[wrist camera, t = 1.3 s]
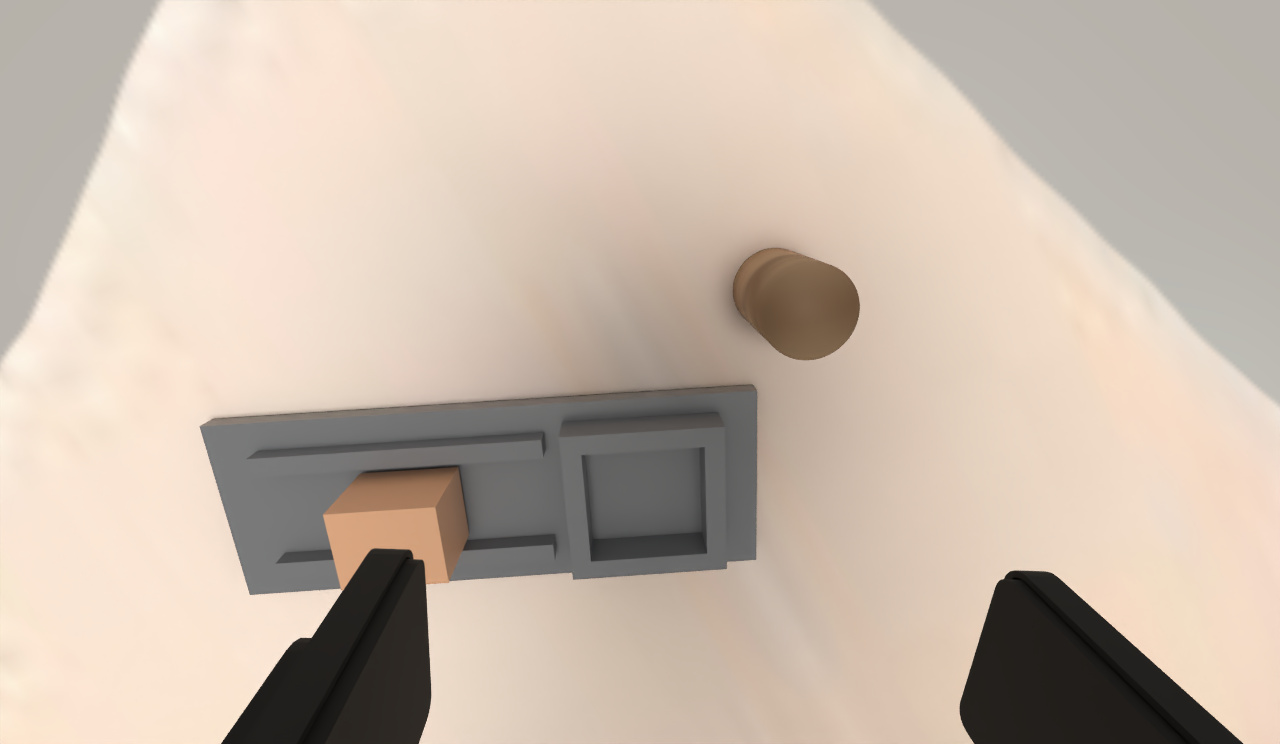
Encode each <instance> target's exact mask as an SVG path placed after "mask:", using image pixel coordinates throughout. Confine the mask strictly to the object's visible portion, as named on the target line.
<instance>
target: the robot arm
mask: <svg viewBox="0 0 1280 744" xmlns="http://www.w3.org/2000/svg"><path fill="white" fill-rule="evenodd" d="M430 703H431V677H430V657H429V638H428V618H427V598H426V579H425V564H424V561H423V560H420V559H414V558H413V553H412V551H411V550H409V549H382V548H374V549H371V550H370V551H369V553H368V554H367V555H366V557H365V558H364V560H363V561H362V563H361V564H360V566H359V567H358V569H357V570H356V572H355V573H354V575H353V576H352V578H351V579H350V581H349V582H348V584H347V585H346V587H345V588H344V590H343V591H342V593H341V594H340V596H339V597H338V599H337V600H336V602H335V604H334V605H333V607H332V608H331V610H330V611H329V613H328V614H327V616H326V617H325V619H324V620H323V622H322V623H321V625H320V626H319V628H318V629H317V631H316V632H315V634H314V635H313V637H312V638H300V639H298V640H296V641H295V642H293V643H292V645H291V646H290V647H289V648H288V649H287V650H286V652H285V653H284V654H283V656H282V657H281V659H280V660H279V662H278V663H277V664H276V666H275V667H274V669H273V670H272V672H271V673H270V674H269V676H268V677H267V679H266V680H265V682H264V683H263V684H262V686H261V687H260V689H259V690H258V692H257V693H256V694H255V696H254V697H253V699H252V700H251V702H250V703H249V705H248V706H247V707H246V709H245V710H244V712H243V713H242V715H241V716H240V717H239V719H238V720H237V722H236V723H235V725H234V726H233V727H232V729H231V730H230V732H229V733H228V735H227V736H226V737H225V739H224V740H223V742H222V743H221V744H419V741H420V738H421V735H422V733H423V730H424V727H425V724H426V721H427V718H428V714H429V709H430ZM960 716H961V720H962V723H963V726H964V728H965V730H966V731H967V733H968V735H969V736H970V738H971V739H972V741H973V742H974V744H1243V743H1242V742H1241V741H1240V740H1239V739H1238V738H1236V737H1235V736H1234V735H1233V734H1232V733H1231V732H1230V731H1229V730H1228V729H1226V728H1225V727H1224V726H1223V725H1222V724H1221V723H1220V722H1219V721H1218V720H1216V719H1215V718H1214V717H1213V716H1212V715H1211V714H1210V713H1209V712H1208V711H1206V710H1205V709H1204V708H1203V707H1202V706H1201V705H1200V704H1199V703H1197V702H1196V701H1195V700H1194V699H1193V698H1192V697H1191V696H1190V695H1189V694H1187V693H1186V692H1185V691H1184V690H1183V689H1182V688H1181V687H1180V686H1179V685H1177V684H1176V683H1175V682H1174V681H1173V680H1172V679H1171V678H1170V677H1169V676H1167V675H1166V674H1165V673H1164V672H1163V671H1162V670H1161V669H1160V668H1158V667H1157V666H1156V665H1155V664H1154V663H1153V662H1152V661H1151V660H1150V659H1148V658H1147V657H1146V656H1145V655H1144V654H1143V653H1142V652H1141V651H1140V650H1138V649H1137V648H1136V647H1135V646H1134V645H1133V644H1132V643H1131V642H1129V641H1128V640H1127V639H1126V638H1125V637H1124V636H1123V635H1122V634H1121V633H1119V632H1118V631H1117V630H1116V629H1115V628H1114V627H1113V626H1112V625H1111V624H1109V623H1108V622H1107V621H1106V620H1105V619H1104V618H1103V617H1102V616H1101V615H1099V614H1098V613H1097V612H1096V611H1095V610H1094V609H1093V608H1092V607H1090V606H1089V605H1088V604H1087V603H1086V602H1085V601H1084V600H1083V599H1082V598H1080V597H1079V596H1078V595H1077V594H1076V593H1075V592H1074V591H1073V590H1072V589H1070V588H1069V587H1068V586H1067V585H1066V584H1065V583H1064V582H1063V581H1062V580H1060V579H1059V578H1058V577H1057V576H1055V575H1054V574H1052V573H1049V572H1044V571H1011V572H1009V573H1008V574H1007V575H1006V576H1005V578H1004V579H1003V580H1000V581H999V582H998V583H997V585H996V587H995V590H994V594H993V597H992V600H991V603H990V607H989V610H988V613H987V617H986V620H985V623H984V626H983V630H982V633H981V636H980V639H979V643H978V646H977V649H976V653H975V656H974V659H973V662H972V666H971V669H970V672H969V676H968V679H967V682H966V685H965V689H964V692H963V695H962V698H961V702H960Z"/></svg>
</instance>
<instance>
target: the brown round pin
mask: <svg viewBox="0 0 1280 744" xmlns="http://www.w3.org/2000/svg"><path fill="white" fill-rule="evenodd" d="M733 297H734V302H735V304H736V307H737V309H738V311H739V312H740V313H741V315H742V316H743V317H744V318H745V319H746V320H747V321H748V322H749V323H750V324H751V325H752V326H753V327H754V328H755V329H756V330H757V331H758V332H759V333H760V334H761V335H762V336H763V337H764V338H765V339H766V340H767V341H768V342H769V343H770V344H771V345H772V346H773V347H774V348H775V349H776V350H777V351H779V352H780V353H782V354H783V355H785V356H788V357H790V358H793V359H798V360H814V359H818V358H822V357H825V356H827V355H829V354H831V353H833V352H834V351H836V350H837V349H839V348H840V347H841V346H842V345H843V344H844V343H845V342H846V341H847V340H848V339H849V337H850V336H851V334H852V332H853V331H854V329H855V326H856V324H857V321H858V317H859V310H860V303H859V296H858V293H857V290H856V288H855V286H854V284H853V282H852V281H851V279H850V278H849V277H848V276H847V275H846V274H845V273H844V272H843V271H841V270H840V269H838V268H836V267H834V266H832V265H829V264H826V263H823V262H821V261H818V260H815V259H812V258H809V257H806V256H804V255H801V254H798V253H795V252H792V251H789V250H786V249H781V248H770V249H765V250H762V251H759V252H757V253H755V254H753V255H752V256H751V257H749V258H748V259H747V260H746V261H745V262H744V263H743V264H742V266H741V267H740V269H739V270H738V272H737V274H736V277H735V280H734V284H733Z"/></svg>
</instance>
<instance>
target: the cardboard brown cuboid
mask: <svg viewBox="0 0 1280 744" xmlns="http://www.w3.org/2000/svg"><path fill="white" fill-rule="evenodd" d="M323 517H324V521H325V526H326V530H327V534H328V538H329V542H330V546H331V550H332V554H333V558H334V562H335V567H336V571H337V575H338V579H339V583H340V587H341V590H344V588H345V587H346V585H347V584H348V582H349V581H350V579H351V578H352V576H353V575H354V573H355V572H356V570H357V569H358V567H359V566H360V564H361V563H362V561H363V560H364V558H365V557H366V555H367V554H368V553H369V551H370V550H371V549H374V548H382V549H409V550H411V551H412V553H413V558H414V559H420V560H423V561H424V564H425V579H426V584H437V583H449V581H450V578H451V576H452V574H453V571H454V569H455V567H456V564H457V562H458V560H459V557H460V555H461V553H462V550H463V548H464V546H465V543H466V541H467V539H468V536H469V531H468V525H467V518H466V512H465V506H464V500H463V494H462V487H461V481H460V475H459V469H458V467H452V468H436V469H421V470H406V471H391V472H376V473H360V474H359V475H358V476H357V478H356V479H355V480H354V481H353V482H352V483H351V484H350V485H349V486H348V488H347V489H346V490H345V491H344V492H343V493H342V494H341V495H340V496H339V497H338V499H337V500H336V501H335V502H334V503H333V504H332V505H331V506H330V507H329V509H328V510H327V511H326V512H325V513H324V514H323Z"/></svg>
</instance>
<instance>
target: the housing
mask: <svg viewBox="0 0 1280 744" xmlns="http://www.w3.org/2000/svg"><path fill="white" fill-rule="evenodd" d="M200 429H201V433H202V436H203V439H204V443H205V446H206V449H207V453H208V456H209V459H210V463H211V466H212V469H213V473H214V476H215V480H216V483H217V486H218V490H219V493H220V496H221V500H222V503H223V506H224V510H225V513H226V516H227V520H228V523H229V526H230V530H231V533H232V536H233V540H234V543H235V546H236V550H237V553H238V556H239V560H240V563H241V566H242V570H243V573H244V576H245V580H246V583H247V586H248V590H249V593H250V595H255V594H269V593H284V592H298V591H312V590H327V589H341V587H340V583H339V579H338V575H337V571H336V567H335V562H334V558H333V554H332V550H331V546H330V542H329V538H328V534H327V530H326V526H325V521H324V517H323V514H324V513H325V512H326V511H327V510H328V509H329V507H330V506H331V505H332V504H333V503H334V502H335V501H336V500H337V499H338V497H339V496H340V495H341V494H342V493H343V492H344V491H345V490H346V489H347V488H348V486H349V485H350V484H351V483H352V482H353V481H354V480H355V479H356V478H357V476H358V475H359V474H360V473H376V472H391V471H406V470H421V469H436V468H452V467H458V469H459V475H460V481H461V487H462V494H463V500H464V506H465V512H466V518H467V525H468V531H469V536H468V539H467V541H466V543H465V546H464V548H463V550H462V553H461V555H460V557H459V560H458V562H457V564H456V567H455V569H454V571H453V574H452V576H451V578H450V581H456V580H470V579H485V578H499V577H514V576H528V575H542V574H557V573H571V572H572V573H573V580H574V579H589V578H603V577H617V576H632V575H646V574H660V573H675V572H689V571H703V570H718V569H727V562H729V561H744V560H756V490H757V390H756V389H755V387H754V386H753V385H740V386H724V387H709V388H693V389H677V390H662V391H646V392H630V393H614V394H599V395H583V396H567V397H552V398H536V399H520V400H504V401H489V402H473V403H457V404H442V405H426V406H410V407H394V408H379V409H363V410H347V411H331V412H316V413H300V414H284V415H269V416H253V417H237V418H221V419H212V420H210V421H208V422H207V423H205V424H203V425H201V426H200Z"/></svg>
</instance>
